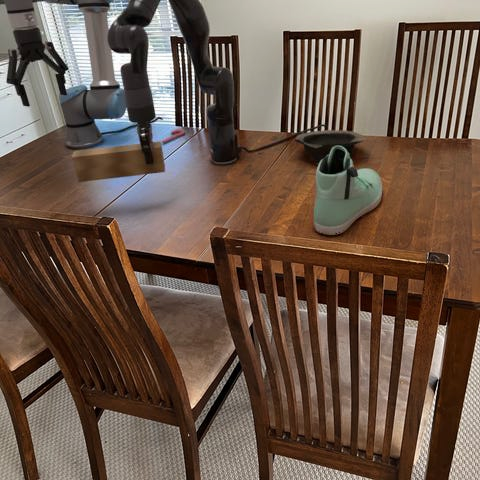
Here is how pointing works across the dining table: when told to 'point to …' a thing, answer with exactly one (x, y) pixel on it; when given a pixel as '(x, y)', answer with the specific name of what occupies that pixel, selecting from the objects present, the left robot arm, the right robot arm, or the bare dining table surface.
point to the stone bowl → (328, 142)
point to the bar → (116, 162)
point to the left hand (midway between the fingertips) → (45, 100)
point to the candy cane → (179, 131)
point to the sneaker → (343, 192)
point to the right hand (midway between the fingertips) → (150, 160)
